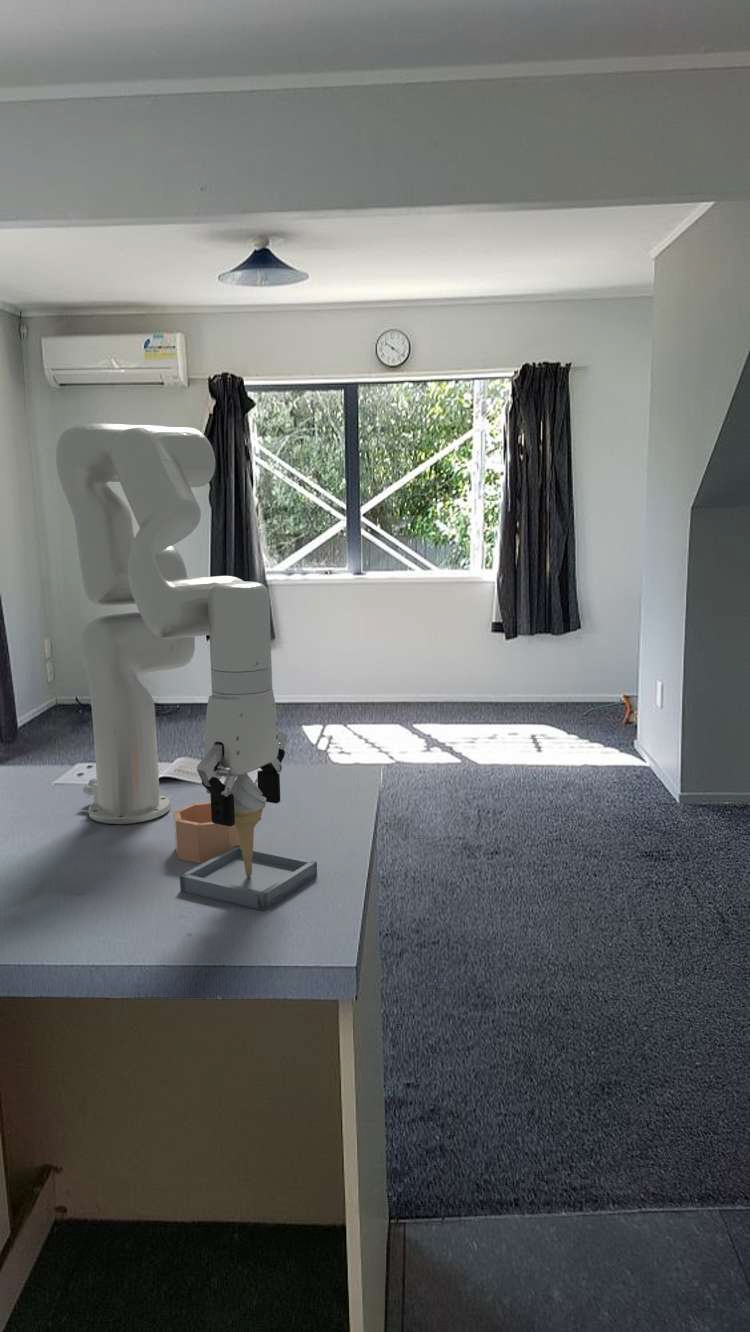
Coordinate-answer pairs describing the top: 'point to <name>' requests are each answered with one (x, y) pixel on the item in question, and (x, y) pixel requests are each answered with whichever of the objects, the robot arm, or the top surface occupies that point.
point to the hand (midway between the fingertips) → (247, 812)
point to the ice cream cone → (247, 815)
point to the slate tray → (261, 890)
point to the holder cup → (201, 834)
